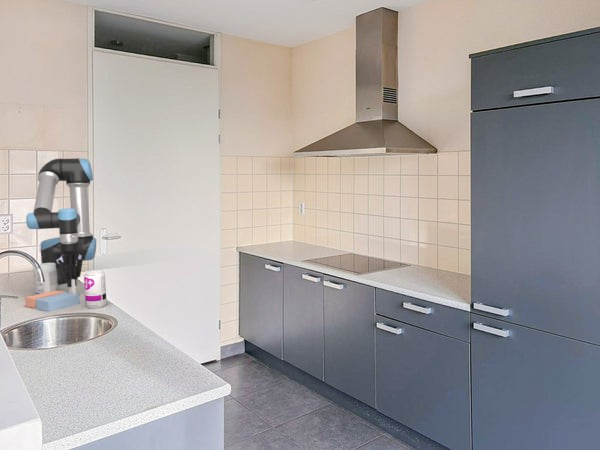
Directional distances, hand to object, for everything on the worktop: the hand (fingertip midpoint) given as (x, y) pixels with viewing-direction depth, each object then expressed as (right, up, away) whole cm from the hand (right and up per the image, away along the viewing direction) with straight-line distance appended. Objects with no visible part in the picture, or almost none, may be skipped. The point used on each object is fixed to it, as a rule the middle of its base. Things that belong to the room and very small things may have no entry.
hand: (72, 293), depth 221 cm
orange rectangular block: (-7, -3, -11) cm, 13 cm away
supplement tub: (-14, -2, +4) cm, 15 cm away
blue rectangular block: (+1, -3, -16) cm, 16 cm away
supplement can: (+18, -3, -16) cm, 25 cm away
